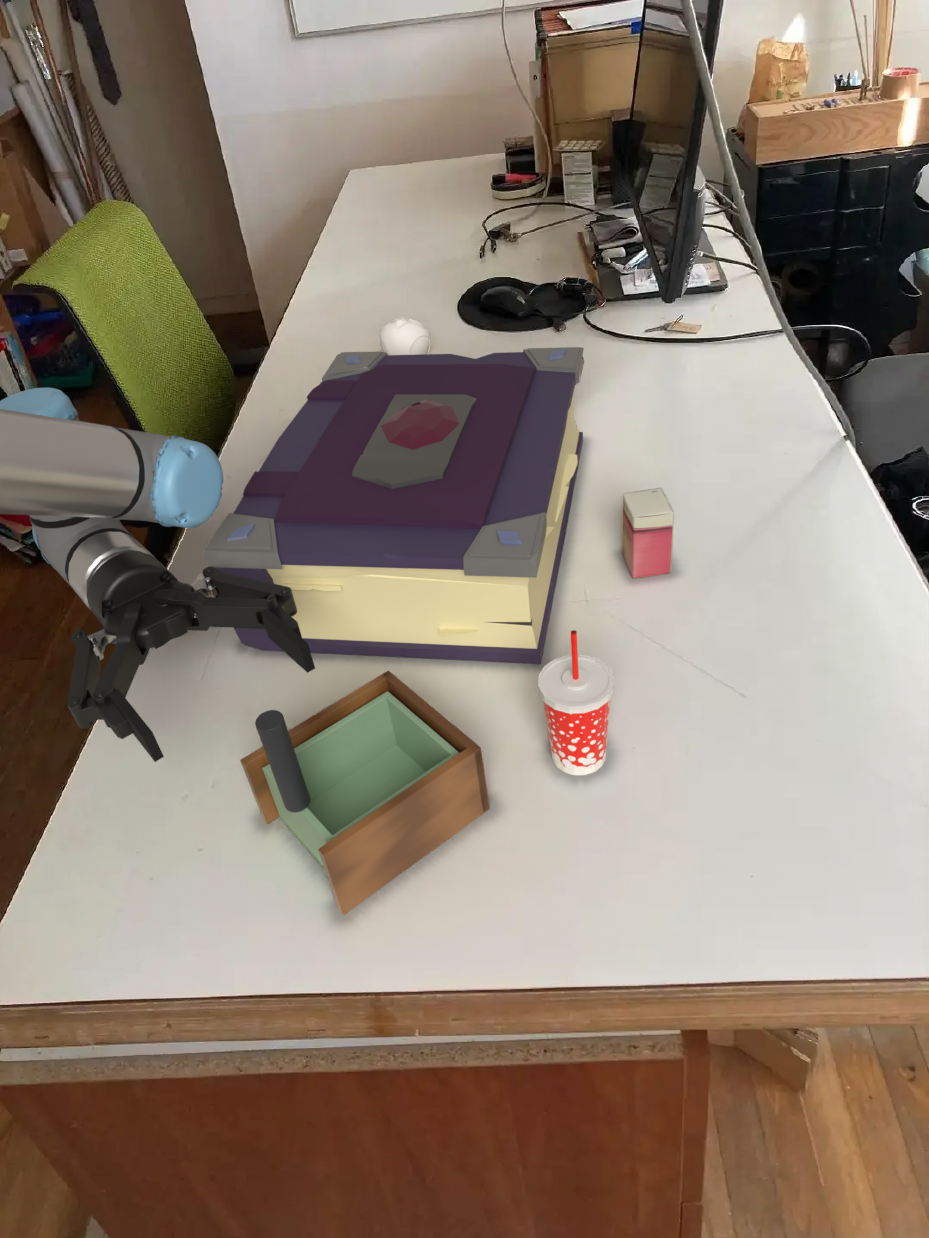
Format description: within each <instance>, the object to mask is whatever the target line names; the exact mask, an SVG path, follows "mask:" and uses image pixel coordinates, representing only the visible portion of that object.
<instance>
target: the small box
mask: <svg viewBox="0 0 929 1238" xmlns="http://www.w3.org/2000/svg"><path fill="white" fill-rule="evenodd" d="M674 520H675V511H674V509H673V507H672V504H671V502H670V500H669V498H668V497H667V495H666V493H665V491H664V490H663V488H662V487H656V488H649V489H643V490H635V491H630V492H629V491H628V492H623V493H622V533H621V534H622V535H621V536H622V537H621V539H622V541H621V542H622V543H621V550H622V551H621V553H622V556H623V558H624V562H625V564H626V567H627V569H628V572H629V573H630V576H631V578H632V579H639V578H640V579H641V578H647V577H655V576H661V575H667V574H671V573H672V561H673V541H674V540H673V538H674V524H675V523H674V522H675V521H674Z"/></svg>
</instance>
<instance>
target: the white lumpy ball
mask: <svg viewBox="0 0 929 1238" xmlns="http://www.w3.org/2000/svg"><path fill="white" fill-rule="evenodd" d="M378 335H379V343H380V348H381V350H382V352H386V353H387V354H388V355H422V354H429V352H430V348H431V341H432V340H431V331H430V330H428V329H427V328H426V326H425V325H424V324H423V323H422V322H420V321H418V320H416V319H412V318H411V317H410V316H408V315H401V316H398V317H396V318H394V319H392V320H391V321H389V323H386V324H384V325H383V326H382V328H380V331H379V334H378Z"/></svg>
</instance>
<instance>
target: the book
mask: <svg viewBox="0 0 929 1238" xmlns="http://www.w3.org/2000/svg"><path fill="white" fill-rule="evenodd" d="M584 349H585V348H584V347H580V346H570V347H569V346H568V347H567V346H566V347H532V348H531V347H529V348H528V347H527V348H523V349H522V351H514V352H512V351H511V352H509V351H507V352H492V353H488V354H485V355H483V356H480V357H476V358H473V357H468V356H463V355H458V354H454V353H431V354H430V353H428V354H422V355H388V354H387V353H386V352H383V351H381V350H380V351H343V352H342V351H341V352H340V353H338V354H336V355H335V358H334V359H333V361H332V362H331V364H330V365H329V367H328V368H327V369H326V371H325V372H324V374H323V376H322V377H321V382H320V383H319V384H317V385H316V386H315V387H313V388H312V389H311V390H310V391H309V393H308V394H307V396H306V399H307V400H306V402H305V403H304V404H303V405H302V406H301V408H300V409H299V411H298V412H297V414H295V416H294V418H292V420H291V421H290V423H289V424H288V425H287V427H286V428H285V429H284V430H283V432H282V433H281V434H280V436H279V437H278V438H277V440H276V441H275V443H274V445H273V447H272V448H271V449H270V451H269V453H268V455H267V456H266V458H265V460H264V461H263V462H262V465H261V466H260V468H259V469H258V470H257V471H256V470H255V471H254V472H253V473H252V476H251V477H250V478H249V481H247V484H246V485H245V487H244V488H243V489H244V490H243V492H242V498H241V499H240V500H239V503H238V504H237V506H236V508H235V509H234V511H233V512H228V514H226V517H224V520H223V521H222V522H221V524H220V526H219V527H218V528H217V530H216V531H215V533H214V535H213V536H212V537H211V538H210V540H209V542H208V543H207V545H206V546H205V547H204V549H203V550H202V552H203V555H204V558H205V561H206V565H207V567H215V568H216V569H218V570H219V571H221V572H223V573H224V574H228V575H233V576H238V577H243V578H248V579H252V580H257V581H262V582H267V583H272V584H277V585H282V586H286V587H290V588H291V590H292V594H293V597H294V601H295V604H296V608H297V613H296V614H295V615H294V616H291V617H292V618H293V619H295V620H296V621H297V622H298V626H299V629H300V632H301V636H302V639H303V640H305V641H306V642H307V643H308V645H309V648H310V652H311V654H325V655H342V656H343V655H345V656H346V655H347V656H362V657H363V656H368V657H384V658H385V657H387V658H406V659H407V658H409V659H425V660H427V659H428V660H445V661H446V660H447V661H469V662H487V663H489V662H490V663H506V664H507V663H508V664H529V665H542V661H543V656H544V651H545V646H546V639H547V635H548V629H549V625H550V619H551V612H552V607H553V602H554V597H555V592H556V587H557V581H558V576H559V570H560V565H561V559H562V556H563V555H562V554H563V549H564V544H565V539H566V534H567V527H568V523H569V518H570V512H571V506H572V502H573V497H574V491H575V485H576V479H577V476H578V475H577V474H578V469H579V465H580V459H581V453H582V449H583V444H584V443H583V442H584V432H583V431H579V429H578V426H577V425H578V424H577V423H576V420H575V408H574V406H575V404H574V403H575V402H574V392H575V387H576V385H578V384H579V383H581V379H582V375H583V374H582V373H583V370H584V365H585V358H584ZM233 630H234V632H235V634H236V635H237V636H236V637H238V639H239V641H240V643H241V644H243V645H244V646H247V647H250V648H252V649H256V650H259V651H261V652H262V651H263V652H264V651H265V652H283V653H285V652H284V651H283V650H282V649H281V648H280V647H279V646H278V645H277V644H275V643H274V642H273V641H272V640H271V639H270V638H269V637H268V635H267V631H266V629H250V628H233Z"/></svg>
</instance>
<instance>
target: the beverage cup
mask: <svg viewBox="0 0 929 1238" xmlns="http://www.w3.org/2000/svg"><path fill="white" fill-rule="evenodd" d="M570 647H571V649H570V650H571V654H567V655H563V656H560V657H556V658H554V659H552V660H551V661H550V662H548V663H547V664H545V665H544V666H543V667H542V669H541V670H540V672H539V674H538V675H537V676H538V677H537V689H538V694H539V695H540V697H541V699H542V701H543V707H544V713H545V720H546V727H547V731H548V739H549V744H550V751H551V757H552V761H553V763H554V764H555V766H556V768H558V769H559V770H560V771H562V772H563V773H565V774H568V775H572V776H587V775H590V774H593V773H595V772H596V771H598V770H599V769H600V768H602V767H603V766H604V762H605V761H606V758H607V744H608V731H609V719H610V706H611V705H610V703H611V697H612V695H613V693H614V692H615V689H614V688H615V678H614V677H615V676H614V673H613V671H612V670H611V668H610V667H609V665H608V664H607V663H606V662H604V661H602V660H600V659H599V658H598V657H594V656H591V655H586V654H578V632H577V630H575V629H573V630H571V631H570Z"/></svg>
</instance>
